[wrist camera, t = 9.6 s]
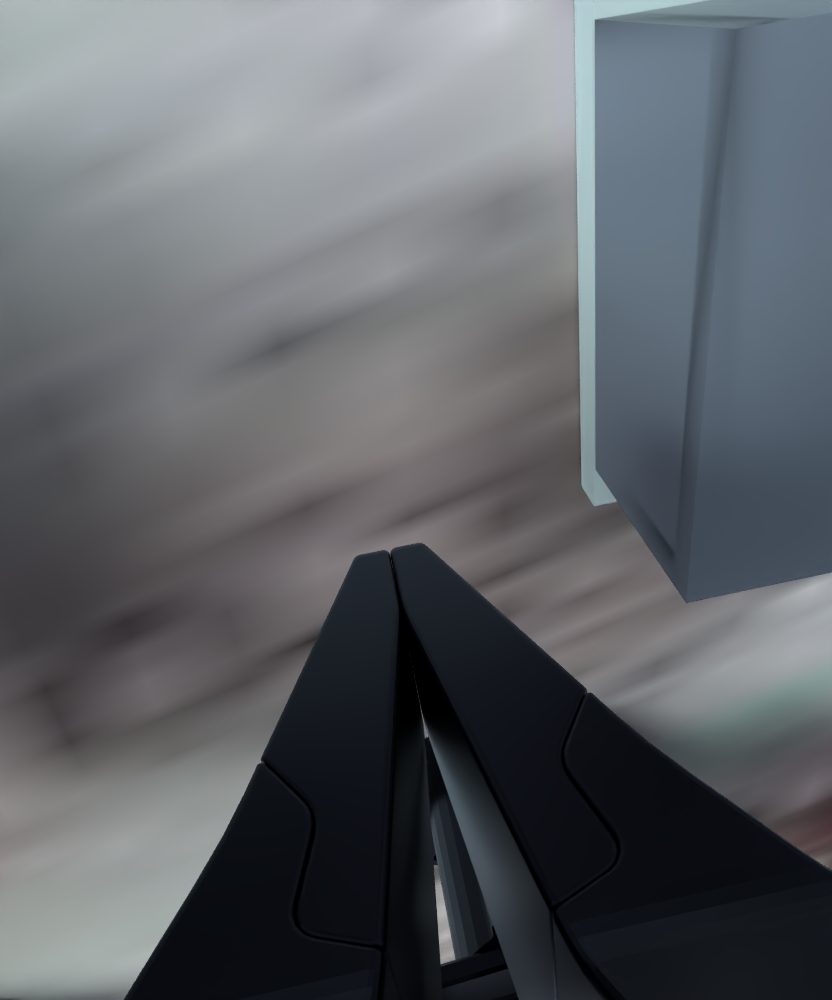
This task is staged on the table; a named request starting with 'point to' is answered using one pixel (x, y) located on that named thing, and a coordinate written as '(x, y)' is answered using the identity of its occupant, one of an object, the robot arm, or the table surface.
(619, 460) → the cover
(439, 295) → the table surface
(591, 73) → the board
